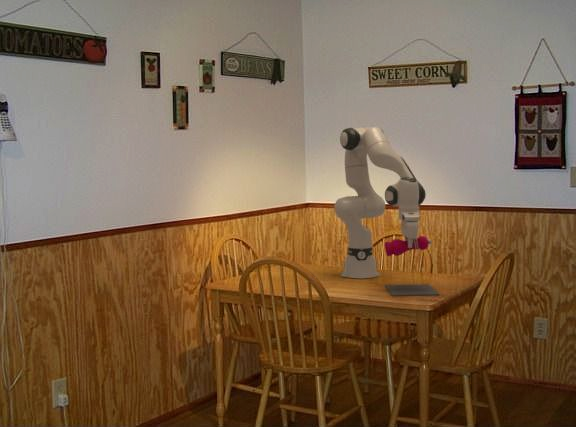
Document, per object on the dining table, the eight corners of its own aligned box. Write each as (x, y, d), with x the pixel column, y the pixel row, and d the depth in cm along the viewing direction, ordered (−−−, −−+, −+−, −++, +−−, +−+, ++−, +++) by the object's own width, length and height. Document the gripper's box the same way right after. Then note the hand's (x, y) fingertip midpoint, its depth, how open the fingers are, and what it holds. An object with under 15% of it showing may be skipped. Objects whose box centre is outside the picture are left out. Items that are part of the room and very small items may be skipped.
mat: (384, 286, 354) (384, 285, 354) (429, 285, 354) (429, 284, 354) (392, 296, 332) (392, 294, 332) (439, 295, 332) (439, 293, 332)
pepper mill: (386, 242, 337) (432, 234, 337) (383, 239, 344) (428, 231, 344) (388, 259, 338) (434, 251, 338) (386, 255, 345) (431, 247, 345)
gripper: (397, 213, 350) (397, 243, 352) (405, 217, 330) (405, 250, 331) (411, 212, 350) (411, 243, 352) (420, 217, 330) (420, 250, 331)
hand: (408, 246), depth 341 cm, fingers closed on pepper mill, 4 cm apart
